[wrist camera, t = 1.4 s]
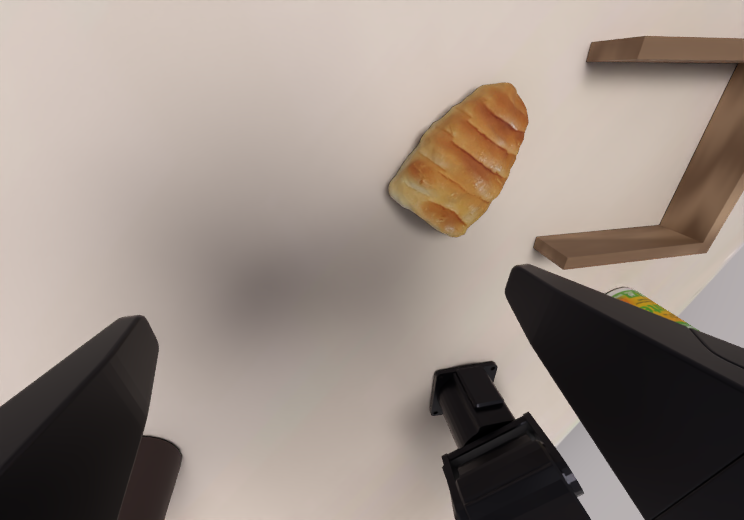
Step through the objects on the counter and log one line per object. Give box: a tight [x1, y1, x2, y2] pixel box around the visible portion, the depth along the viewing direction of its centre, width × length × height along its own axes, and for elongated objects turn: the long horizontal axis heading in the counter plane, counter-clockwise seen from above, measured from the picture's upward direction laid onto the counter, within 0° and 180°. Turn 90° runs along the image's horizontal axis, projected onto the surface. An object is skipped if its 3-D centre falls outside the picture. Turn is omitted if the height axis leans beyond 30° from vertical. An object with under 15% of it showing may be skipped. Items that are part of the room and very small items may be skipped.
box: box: [534, 36, 744, 270], centre depth 22 cm, size 14×13×4 cm
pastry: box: [388, 83, 528, 237], centre depth 20 cm, size 9×7×4 cm
